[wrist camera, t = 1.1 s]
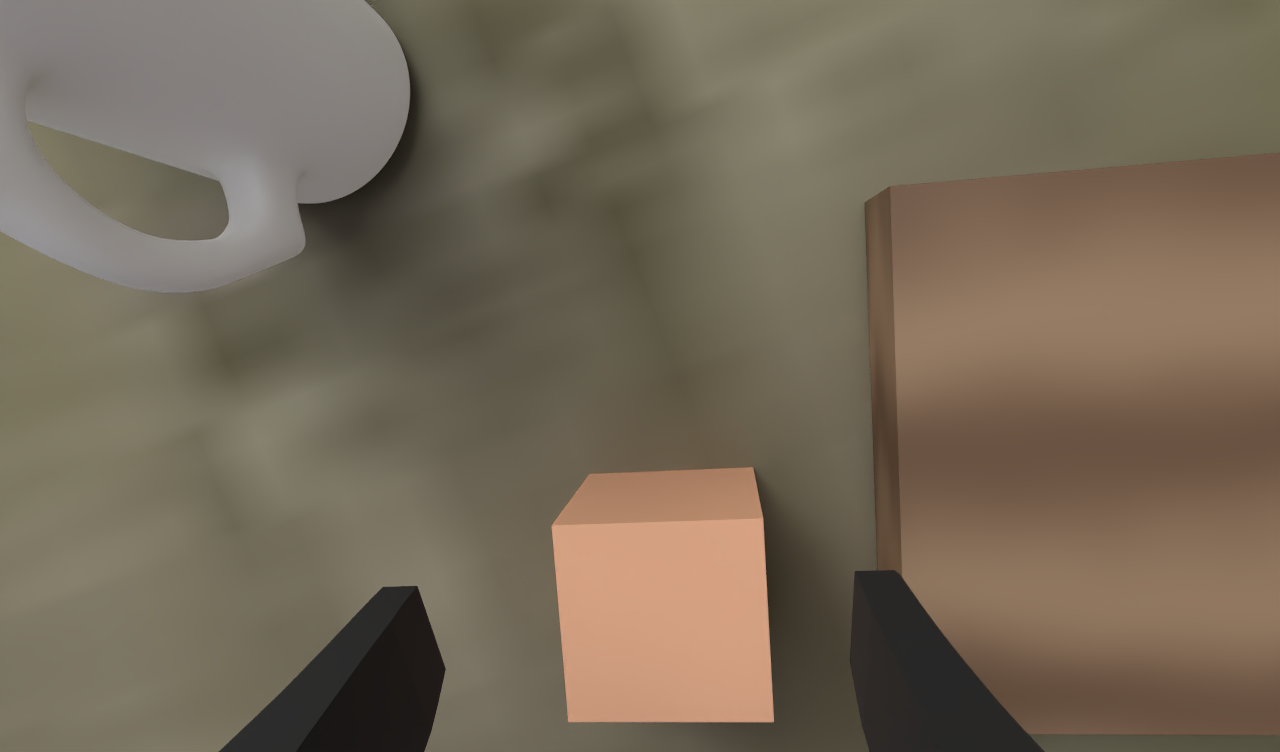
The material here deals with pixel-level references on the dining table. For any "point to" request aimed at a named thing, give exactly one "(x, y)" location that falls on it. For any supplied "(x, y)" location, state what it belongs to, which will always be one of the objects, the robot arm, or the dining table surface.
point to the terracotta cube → (664, 598)
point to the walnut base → (1088, 437)
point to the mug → (196, 122)
